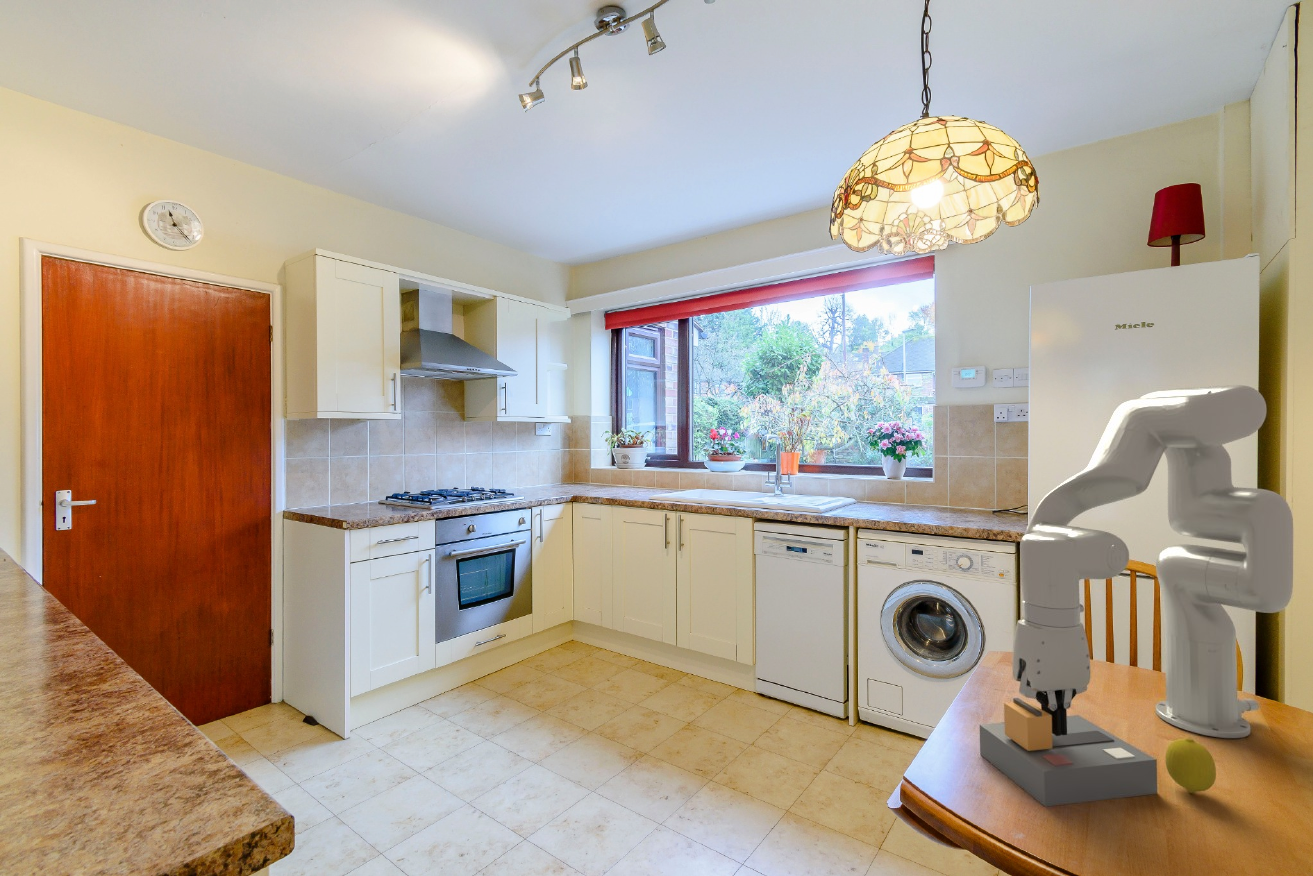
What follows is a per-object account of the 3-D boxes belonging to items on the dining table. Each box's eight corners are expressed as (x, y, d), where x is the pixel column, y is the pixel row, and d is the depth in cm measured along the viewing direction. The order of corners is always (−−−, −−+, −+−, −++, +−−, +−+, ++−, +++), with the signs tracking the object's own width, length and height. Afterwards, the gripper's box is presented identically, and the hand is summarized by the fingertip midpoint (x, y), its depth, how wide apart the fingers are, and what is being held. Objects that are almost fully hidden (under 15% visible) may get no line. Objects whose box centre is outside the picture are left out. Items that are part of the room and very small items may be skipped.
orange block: (1028, 732, 96) (1027, 697, 96) (1052, 748, 91) (1051, 711, 91) (1004, 734, 95) (1003, 699, 95) (1028, 750, 90) (1027, 713, 90)
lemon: (1156, 781, 91) (1155, 729, 91) (1193, 781, 90) (1192, 728, 90) (1187, 804, 85) (1186, 748, 85) (1227, 804, 85) (1226, 747, 85)
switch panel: (1078, 744, 102) (1078, 713, 102) (1157, 793, 88) (1156, 758, 88) (980, 754, 99) (979, 723, 99) (1044, 806, 86) (1044, 770, 86)
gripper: (1074, 603, 98) (1078, 715, 98) (989, 610, 96) (993, 724, 96) (1115, 617, 90) (1118, 738, 91) (1024, 625, 88) (1028, 749, 89)
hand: (1054, 731), depth 93 cm, fingers closed
